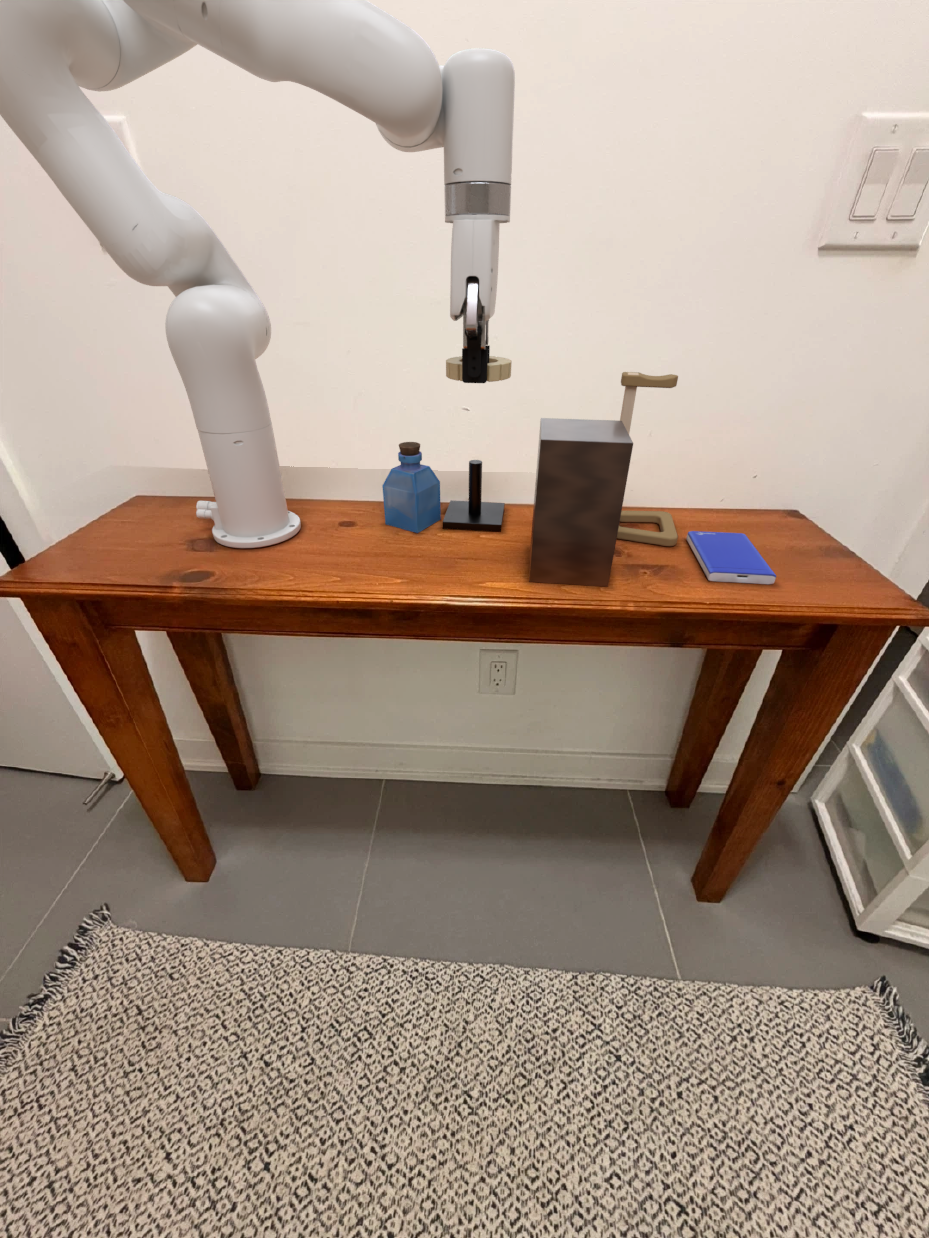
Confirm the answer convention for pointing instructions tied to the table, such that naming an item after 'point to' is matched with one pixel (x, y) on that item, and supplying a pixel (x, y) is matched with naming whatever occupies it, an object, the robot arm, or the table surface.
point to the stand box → (578, 500)
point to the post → (474, 507)
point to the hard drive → (729, 558)
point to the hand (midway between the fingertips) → (475, 379)
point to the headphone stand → (631, 383)
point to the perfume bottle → (411, 492)
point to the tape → (495, 368)
